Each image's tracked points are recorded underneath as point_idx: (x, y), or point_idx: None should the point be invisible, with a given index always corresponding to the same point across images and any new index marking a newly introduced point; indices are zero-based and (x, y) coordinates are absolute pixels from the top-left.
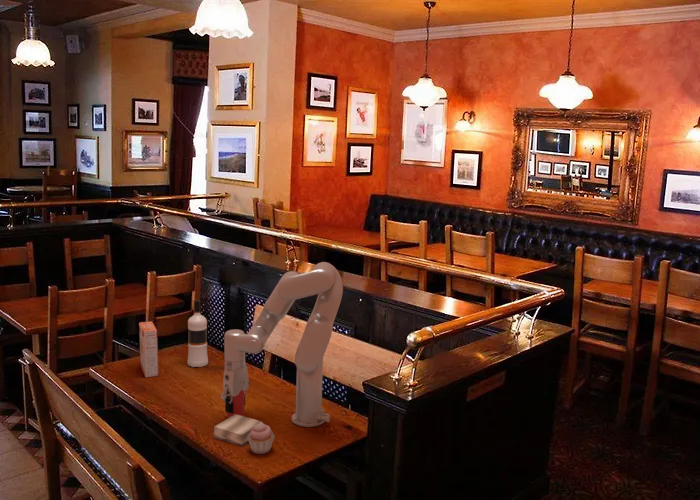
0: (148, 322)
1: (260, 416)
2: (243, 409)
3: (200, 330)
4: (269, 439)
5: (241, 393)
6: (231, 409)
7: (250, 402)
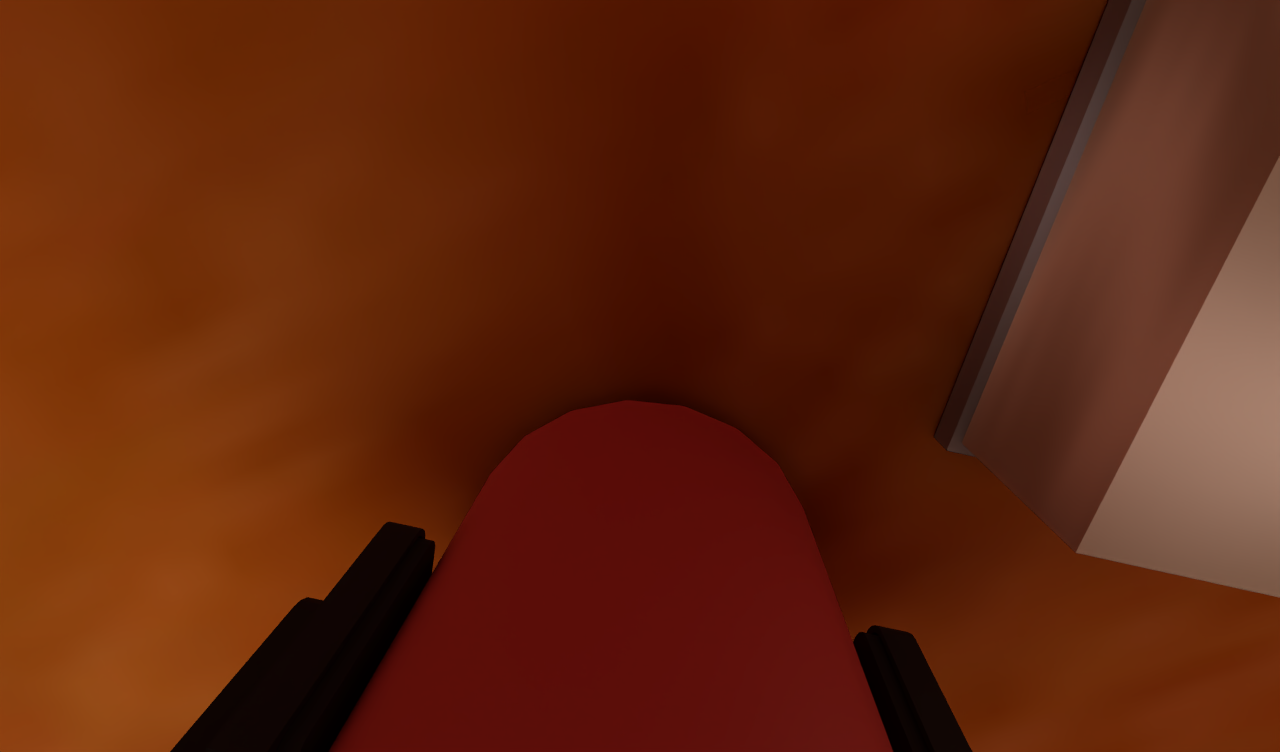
0: None
1: (440, 78)
2: (635, 470)
3: None
4: None
5: None
6: (936, 727)
7: (8, 516)
